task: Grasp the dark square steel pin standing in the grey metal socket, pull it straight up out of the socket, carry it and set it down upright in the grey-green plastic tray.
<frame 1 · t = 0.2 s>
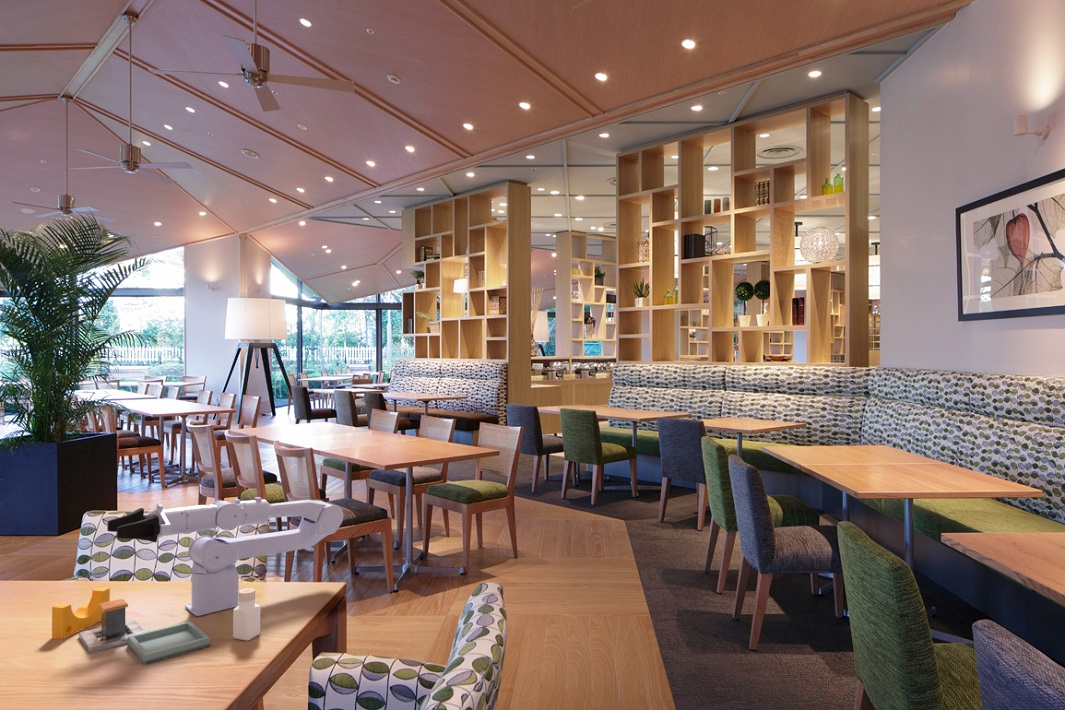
hand: (112, 529, 143), 21 cm above the table, tool horizontal, fingers open, 7 cm apart
pipe clamp: (78, 628, 146), on the table
socket: (113, 637, 140), on the table
pin: (113, 638, 140), resting in socket
pepper shaker: (246, 637, 141), on the table
tray: (168, 646, 136), on the table
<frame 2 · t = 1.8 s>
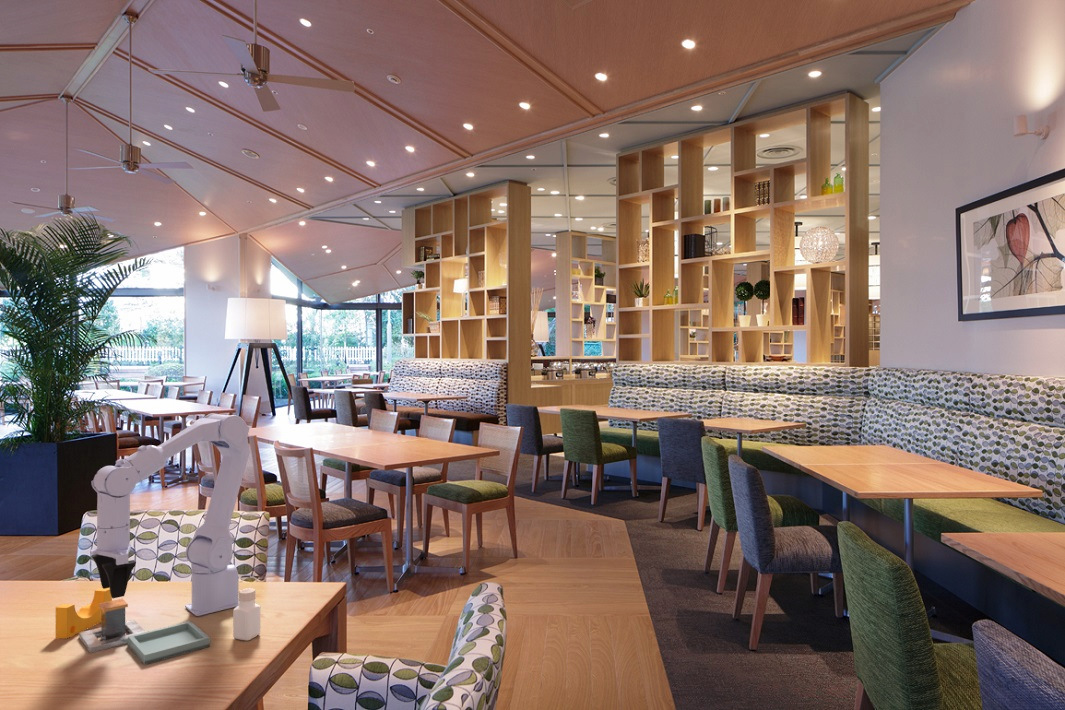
hand: (113, 592, 140), 9 cm above the table, tool pointing down, fingers open, 7 cm apart
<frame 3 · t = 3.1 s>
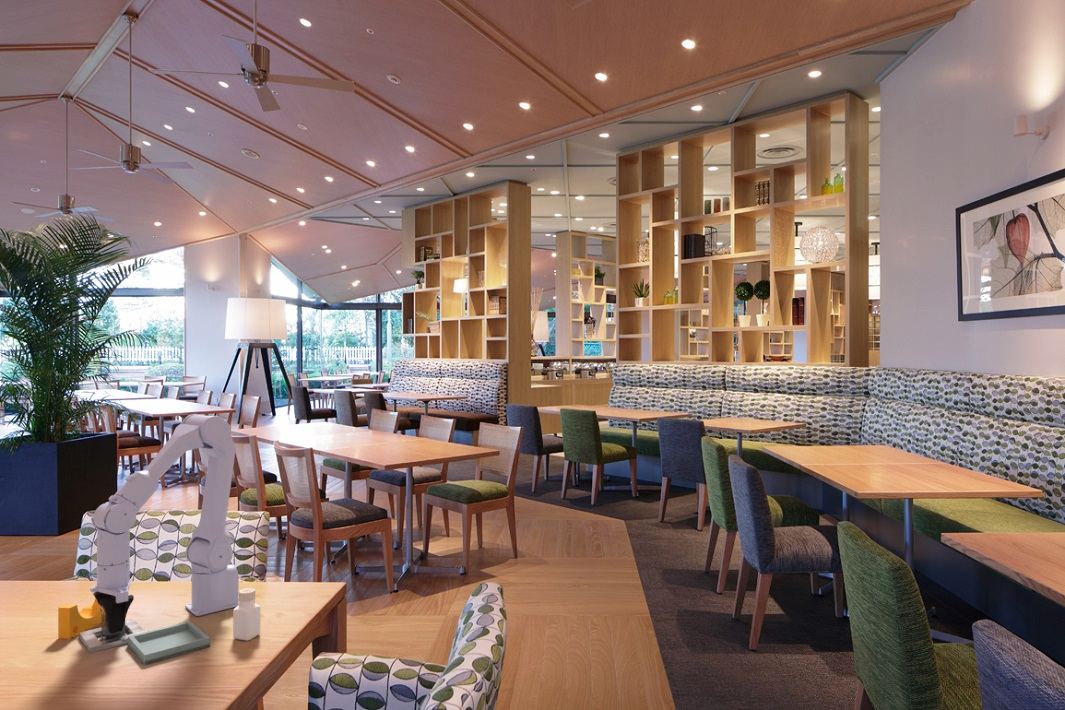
hand: (113, 628, 140), 2 cm above the table, tool pointing down, fingers closed on pin, 4 cm apart
pin: (113, 638, 140), resting in socket, touching gripper
when the fingers open (3 cm above the table, at t = 7.9 s): pin stays where it is, resting on tray.
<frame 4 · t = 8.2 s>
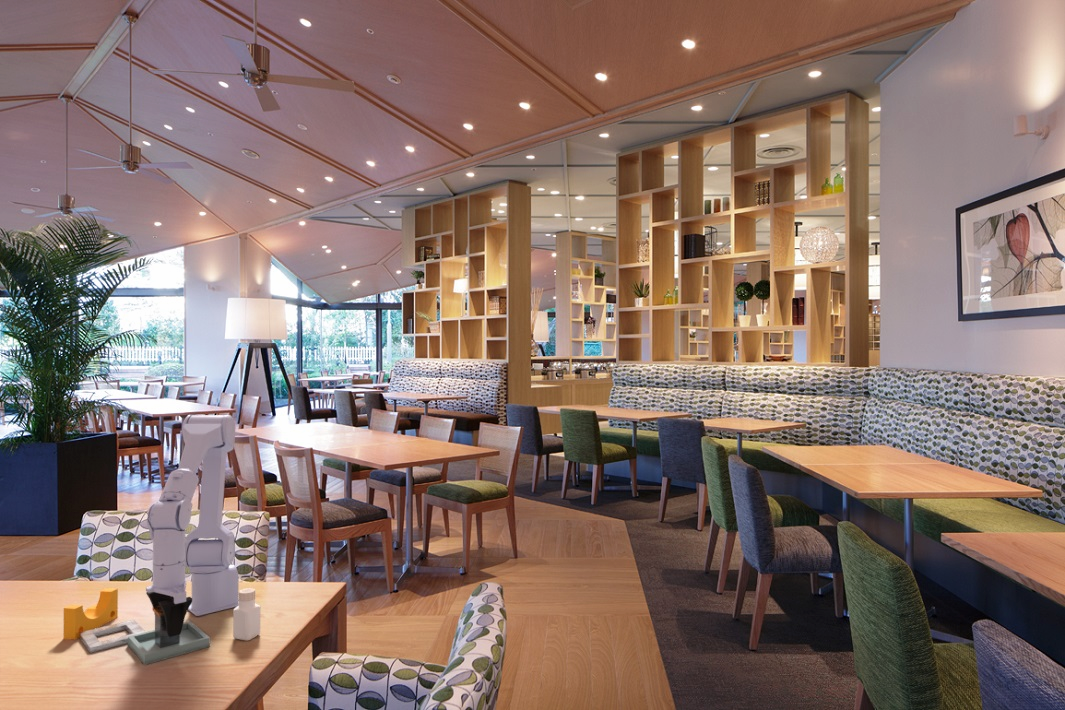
hand: (168, 630, 136), 3 cm above the table, tool pointing down, fingers open, 6 cm apart
pipe clamp: (87, 629, 146), on the table
pin: (167, 642, 136), point 1 cm above the table, touching tray
everything else where it was.
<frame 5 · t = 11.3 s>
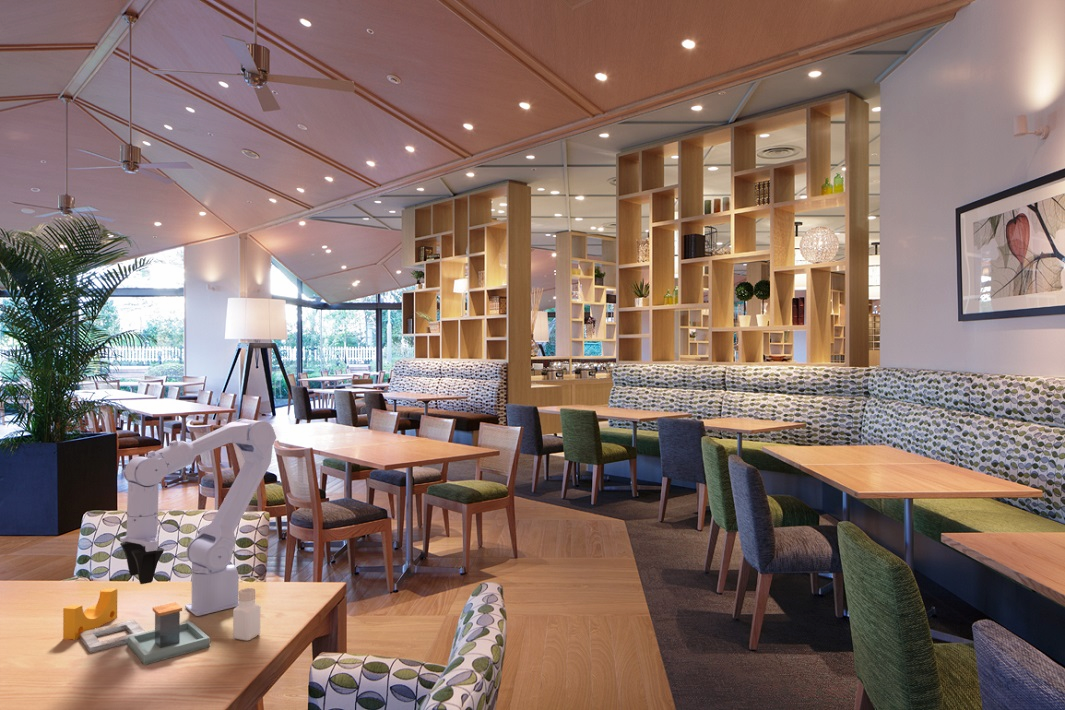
hand: (140, 578, 145), 10 cm above the table, tool pointing down, fingers open, 7 cm apart
nothing on the table moved.
at the end: pin inside the target area on the tray (0.4 cm from its centre), point 0.6 cm above the tray's base; pin tilted 0°; the gripper is holding nothing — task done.
